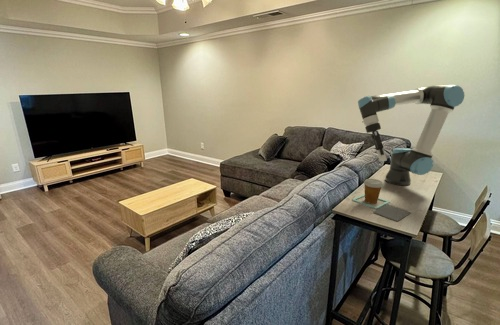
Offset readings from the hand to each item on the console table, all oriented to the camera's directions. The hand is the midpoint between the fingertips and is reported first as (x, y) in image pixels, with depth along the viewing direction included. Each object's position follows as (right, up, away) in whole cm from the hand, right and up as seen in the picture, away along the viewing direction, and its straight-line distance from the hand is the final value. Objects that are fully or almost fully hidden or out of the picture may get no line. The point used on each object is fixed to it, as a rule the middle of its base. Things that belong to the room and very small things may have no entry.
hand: (383, 160), depth 145 cm
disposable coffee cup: (-6, -23, +3) cm, 24 cm away
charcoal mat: (-1, -27, -11) cm, 29 cm away
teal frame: (-6, -23, +3) cm, 24 cm away
